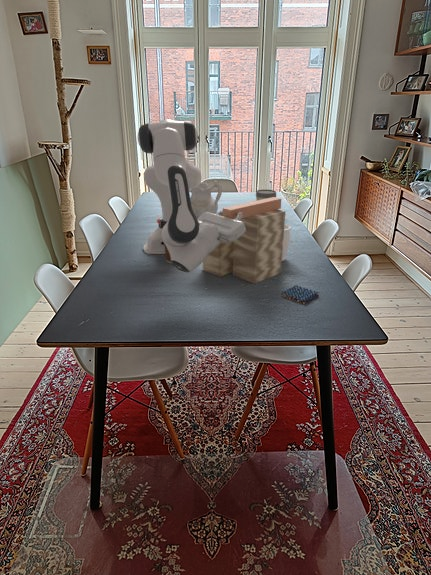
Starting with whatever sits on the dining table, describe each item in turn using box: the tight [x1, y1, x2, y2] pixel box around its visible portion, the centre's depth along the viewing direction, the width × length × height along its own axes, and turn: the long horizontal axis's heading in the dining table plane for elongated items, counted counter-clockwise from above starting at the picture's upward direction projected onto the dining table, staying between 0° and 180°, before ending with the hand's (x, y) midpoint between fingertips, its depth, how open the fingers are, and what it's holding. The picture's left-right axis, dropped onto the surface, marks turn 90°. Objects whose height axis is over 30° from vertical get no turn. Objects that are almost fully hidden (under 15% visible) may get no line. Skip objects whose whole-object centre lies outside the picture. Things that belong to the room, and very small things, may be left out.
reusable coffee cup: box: [255, 189, 277, 201], centre depth 248 cm, size 13×13×15 cm
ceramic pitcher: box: [190, 179, 223, 219], centre depth 233 cm, size 22×20×25 cm
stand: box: [232, 209, 287, 284], centre depth 161 cm, size 16×12×26 cm
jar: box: [282, 224, 292, 262], centre depth 179 cm, size 11×10×15 cm
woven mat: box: [281, 284, 320, 305], centre depth 148 cm, size 10×11×2 cm
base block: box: [202, 241, 234, 277], centre depth 167 cm, size 12×10×16 cm
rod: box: [222, 196, 282, 219], centre depth 152 cm, size 28×4×4 cm, turn 132°
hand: (234, 211), depth 146 cm, fingers open, 6 cm apart
